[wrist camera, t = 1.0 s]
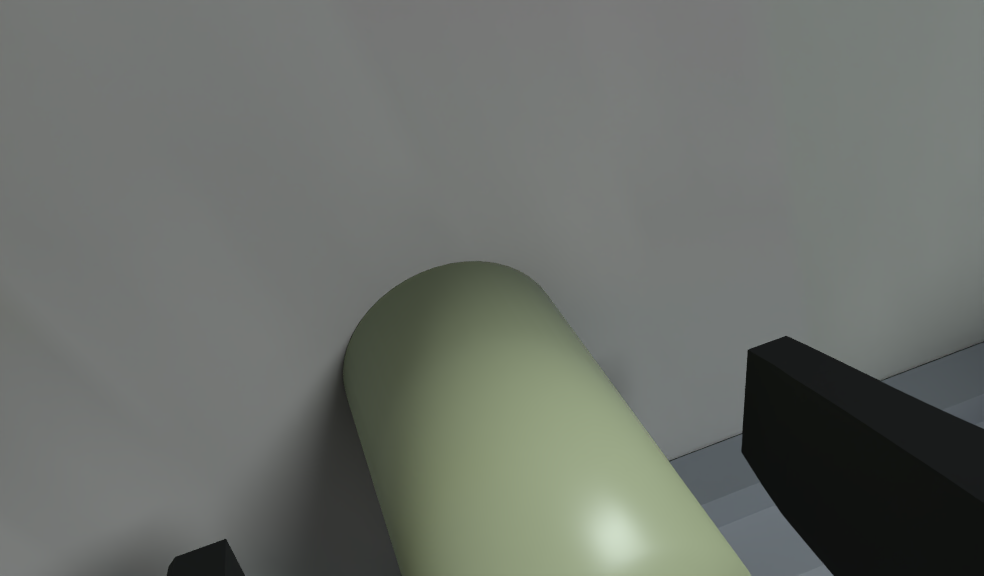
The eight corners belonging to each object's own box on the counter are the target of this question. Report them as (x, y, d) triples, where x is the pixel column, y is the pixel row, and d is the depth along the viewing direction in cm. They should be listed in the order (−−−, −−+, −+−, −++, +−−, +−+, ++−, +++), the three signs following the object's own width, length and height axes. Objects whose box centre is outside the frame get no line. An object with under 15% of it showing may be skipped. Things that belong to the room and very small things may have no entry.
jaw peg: (547, 232, 12) (766, 498, 8) (566, 402, 15) (748, 687, 10) (316, 304, 12) (418, 638, 7) (371, 472, 14) (475, 811, 9)
